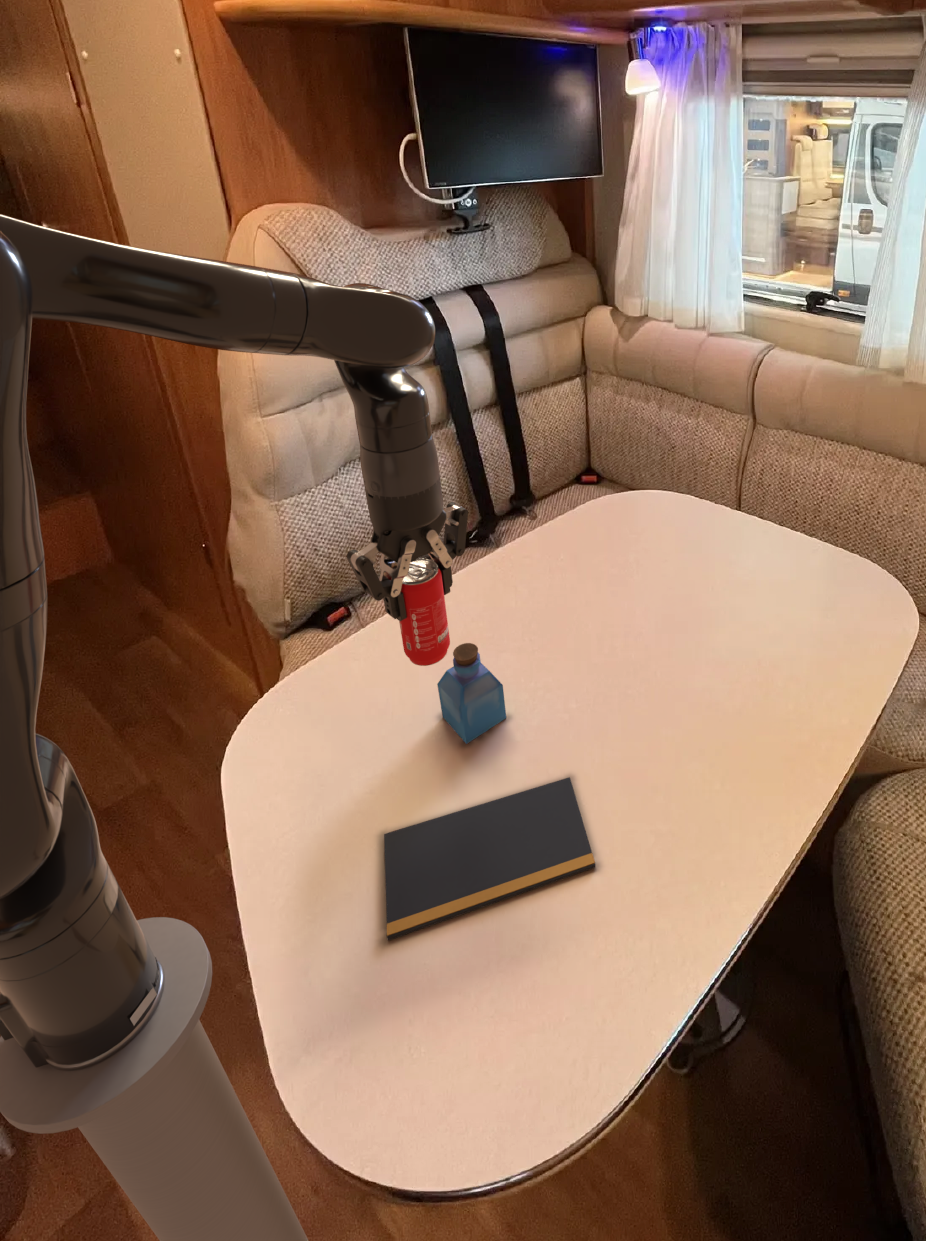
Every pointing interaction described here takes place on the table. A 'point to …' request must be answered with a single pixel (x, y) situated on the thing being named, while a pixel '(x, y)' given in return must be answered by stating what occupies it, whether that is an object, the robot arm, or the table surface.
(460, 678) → the perfume bottle
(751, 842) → the table surface
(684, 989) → the table surface
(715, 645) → the table surface
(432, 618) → the beverage can
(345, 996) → the table surface
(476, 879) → the front mat
